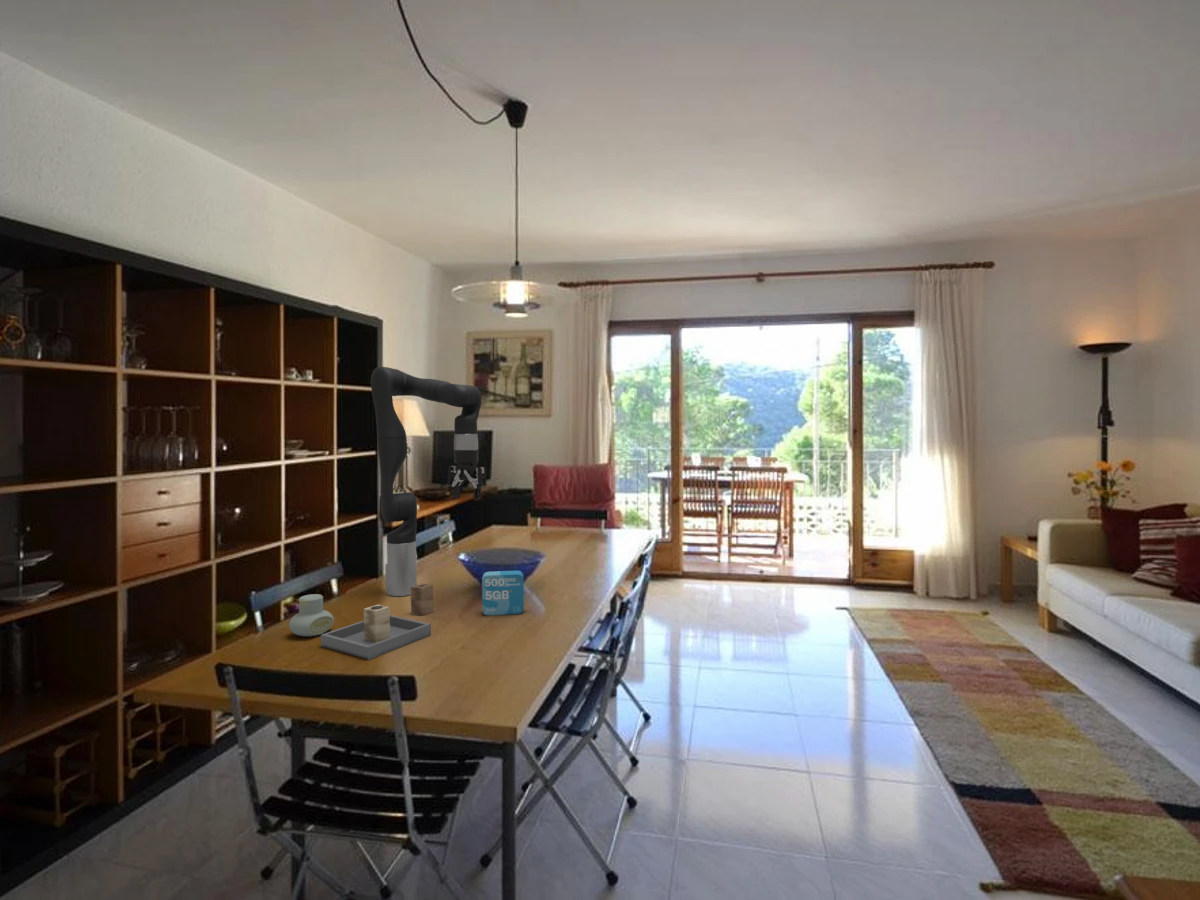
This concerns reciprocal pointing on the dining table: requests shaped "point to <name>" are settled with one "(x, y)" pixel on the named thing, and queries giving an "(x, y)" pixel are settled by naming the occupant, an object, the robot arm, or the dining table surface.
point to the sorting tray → (356, 645)
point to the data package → (502, 593)
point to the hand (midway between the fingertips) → (467, 499)
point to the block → (376, 623)
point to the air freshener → (311, 617)
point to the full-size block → (421, 599)
